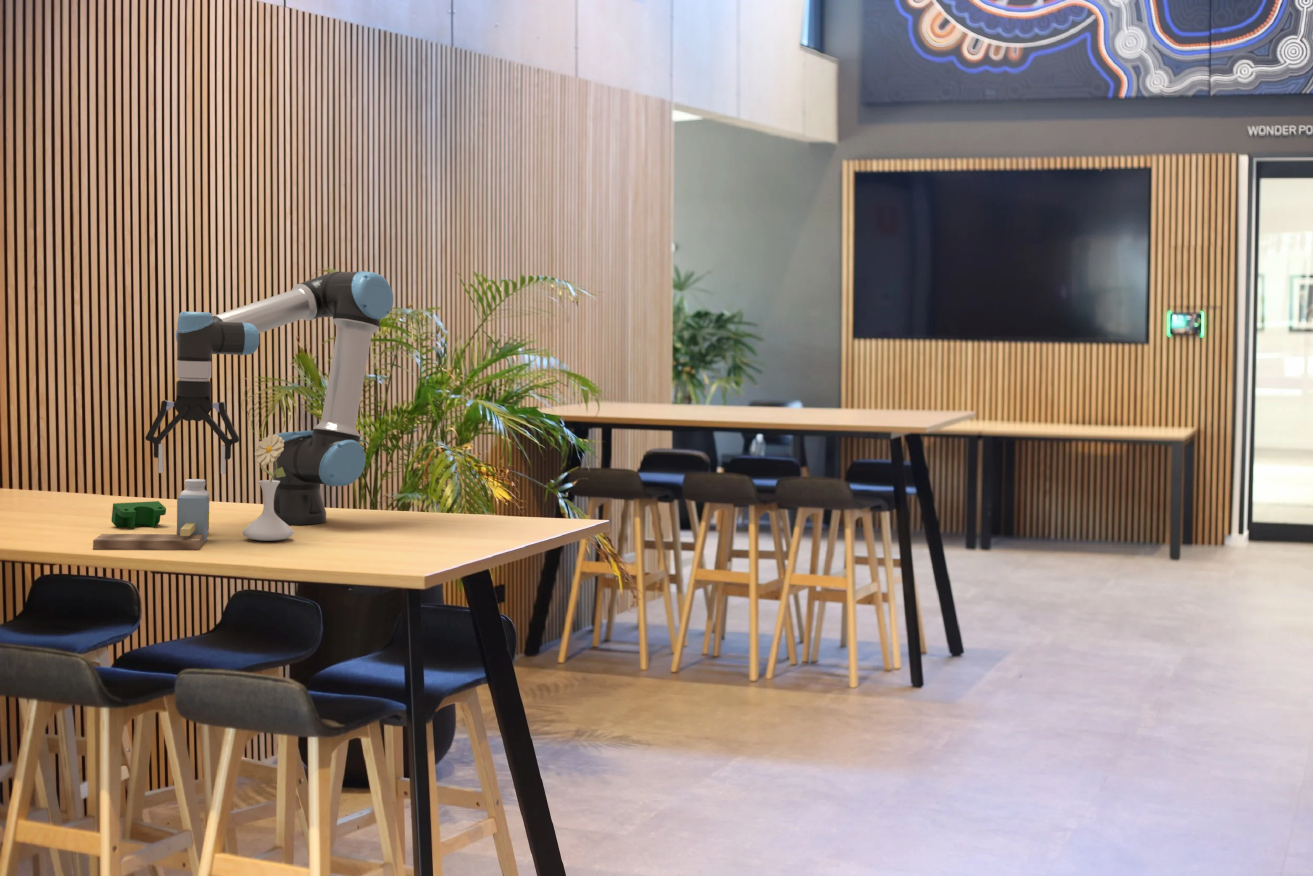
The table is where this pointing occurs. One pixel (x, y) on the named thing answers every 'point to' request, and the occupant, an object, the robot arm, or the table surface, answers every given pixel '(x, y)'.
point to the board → (148, 542)
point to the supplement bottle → (196, 490)
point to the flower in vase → (269, 495)
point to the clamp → (137, 514)
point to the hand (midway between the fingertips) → (192, 473)
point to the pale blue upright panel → (192, 515)
